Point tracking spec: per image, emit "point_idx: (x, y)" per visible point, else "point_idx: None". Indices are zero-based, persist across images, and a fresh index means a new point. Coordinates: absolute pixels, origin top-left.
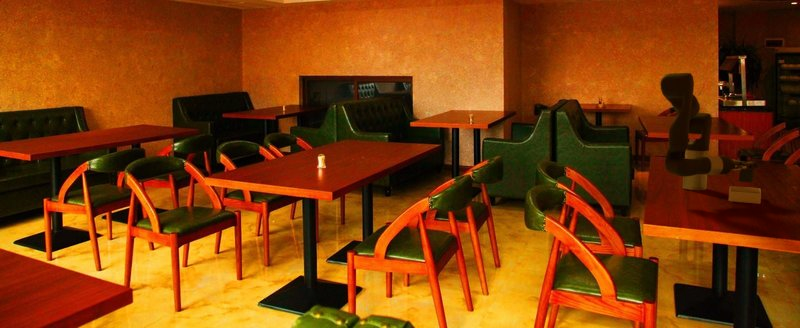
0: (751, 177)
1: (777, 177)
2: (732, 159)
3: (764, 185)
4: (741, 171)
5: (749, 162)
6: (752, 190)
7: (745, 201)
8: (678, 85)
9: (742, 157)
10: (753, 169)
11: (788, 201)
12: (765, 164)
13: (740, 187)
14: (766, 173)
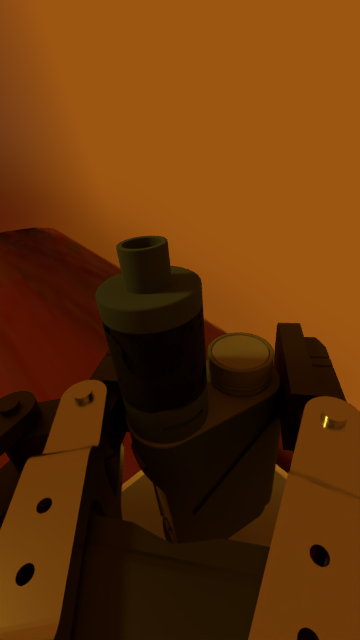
0: (273, 475)
1: (70, 261)
2: (15, 516)
3: (89, 306)
4: (193, 504)
5: (349, 420)
6: (270, 520)
7: None
8: None
9: (164, 359)
10: (277, 407)
11: None
12: (14, 237)
13: (151, 503)
14: (39, 257)
